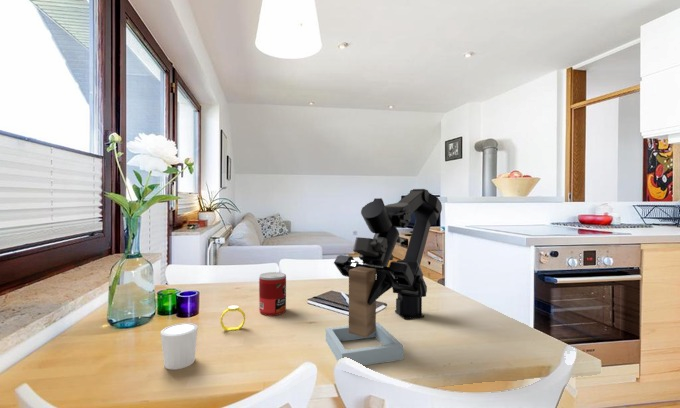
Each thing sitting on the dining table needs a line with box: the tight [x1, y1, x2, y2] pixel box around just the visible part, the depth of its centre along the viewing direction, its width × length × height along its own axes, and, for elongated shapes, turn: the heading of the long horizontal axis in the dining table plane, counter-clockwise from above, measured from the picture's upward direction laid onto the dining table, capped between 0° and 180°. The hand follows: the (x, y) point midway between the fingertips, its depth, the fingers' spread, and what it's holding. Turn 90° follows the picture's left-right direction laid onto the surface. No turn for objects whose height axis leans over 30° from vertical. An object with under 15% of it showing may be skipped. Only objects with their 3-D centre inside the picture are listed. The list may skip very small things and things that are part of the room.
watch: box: [220, 304, 246, 332], centre depth 85 cm, size 6×3×6 cm, turn 107°
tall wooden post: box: [348, 267, 377, 337], centre depth 73 cm, size 4×4×14 cm
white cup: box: [160, 322, 199, 370], centre depth 67 cm, size 7×7×7 cm
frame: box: [325, 321, 404, 366], centre depth 73 cm, size 13×13×3 cm
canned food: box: [258, 271, 287, 316], centre depth 98 cm, size 8×8×11 cm
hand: (359, 301), depth 72 cm, fingers closed on tall wooden post, 4 cm apart
